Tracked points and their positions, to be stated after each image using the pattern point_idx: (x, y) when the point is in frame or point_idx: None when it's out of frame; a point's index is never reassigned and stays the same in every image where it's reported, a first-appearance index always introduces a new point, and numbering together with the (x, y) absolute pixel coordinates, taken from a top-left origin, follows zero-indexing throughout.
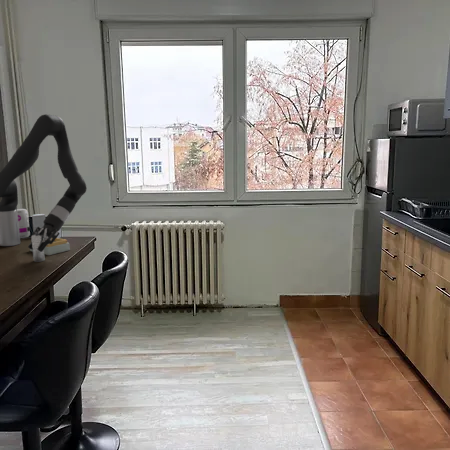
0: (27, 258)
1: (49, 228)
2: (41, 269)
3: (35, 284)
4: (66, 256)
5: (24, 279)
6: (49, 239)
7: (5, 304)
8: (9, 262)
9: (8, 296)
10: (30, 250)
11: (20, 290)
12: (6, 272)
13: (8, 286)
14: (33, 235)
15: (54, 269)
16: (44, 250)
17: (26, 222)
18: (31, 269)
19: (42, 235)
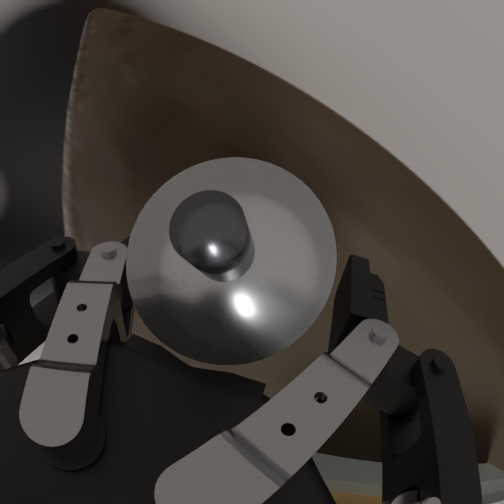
0: (393, 324)
1: (22, 459)
2: (124, 154)
3: (80, 63)
4: None
5: (129, 63)
6: (39, 254)
7: (100, 8)
8: (419, 206)
9: (111, 15)
10: (485, 464)
11: (101, 33)
12: (262, 75)
13: (144, 26)
14: (297, 230)
15: (70, 178)
16: (354, 469)
17: None
18: (173, 136)
19: (135, 302)
